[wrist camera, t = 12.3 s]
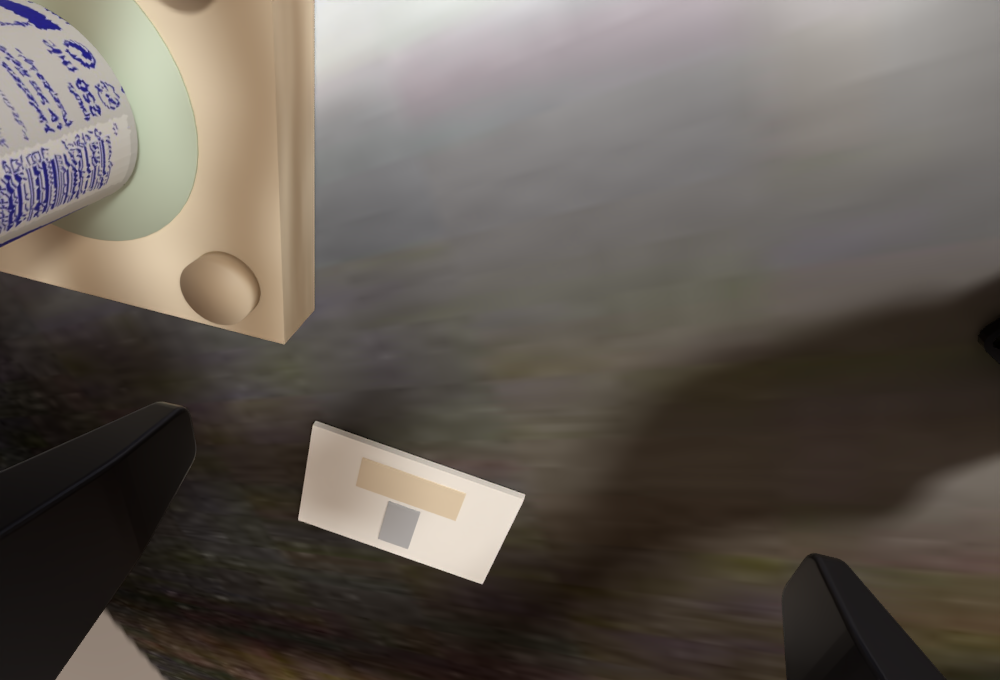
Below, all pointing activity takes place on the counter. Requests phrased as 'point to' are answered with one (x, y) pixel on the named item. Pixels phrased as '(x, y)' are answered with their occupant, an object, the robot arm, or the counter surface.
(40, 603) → the robot arm
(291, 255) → the base brick
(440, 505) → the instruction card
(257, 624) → the counter surface
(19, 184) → the beverage can
